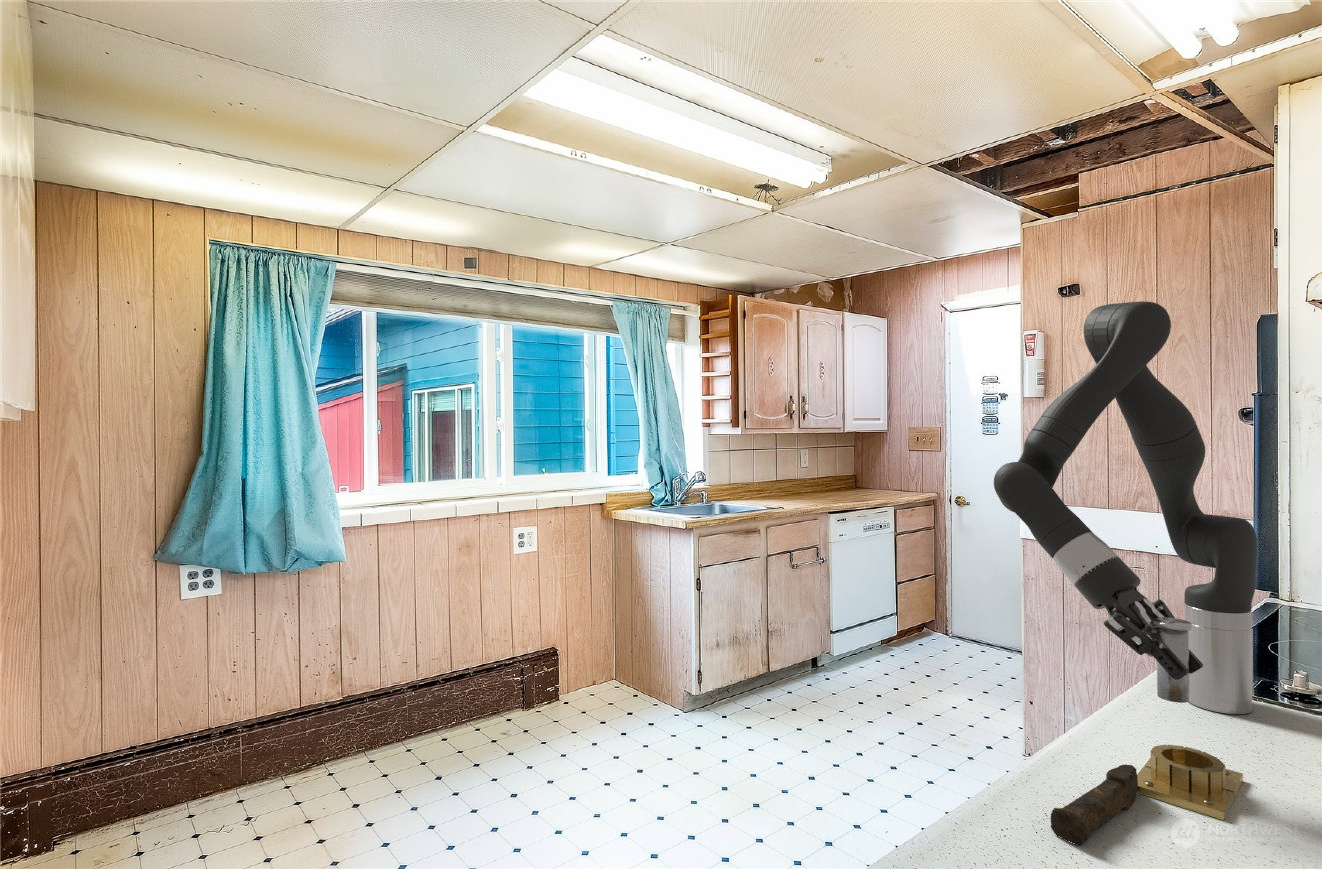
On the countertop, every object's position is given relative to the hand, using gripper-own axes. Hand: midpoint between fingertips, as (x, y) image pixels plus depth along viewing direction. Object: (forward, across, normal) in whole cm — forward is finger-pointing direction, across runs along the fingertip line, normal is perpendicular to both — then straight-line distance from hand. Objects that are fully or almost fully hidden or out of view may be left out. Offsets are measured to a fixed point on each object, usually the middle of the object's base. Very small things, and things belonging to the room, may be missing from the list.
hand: (1189, 672), depth 95 cm
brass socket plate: (+11, 0, +11) cm, 16 cm away
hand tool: (+9, -17, +14) cm, 24 cm away
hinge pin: (+1, 0, +4) cm, 5 cm away
